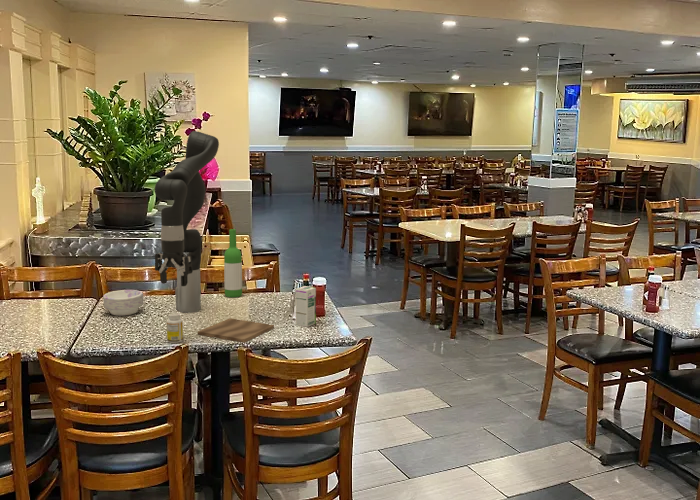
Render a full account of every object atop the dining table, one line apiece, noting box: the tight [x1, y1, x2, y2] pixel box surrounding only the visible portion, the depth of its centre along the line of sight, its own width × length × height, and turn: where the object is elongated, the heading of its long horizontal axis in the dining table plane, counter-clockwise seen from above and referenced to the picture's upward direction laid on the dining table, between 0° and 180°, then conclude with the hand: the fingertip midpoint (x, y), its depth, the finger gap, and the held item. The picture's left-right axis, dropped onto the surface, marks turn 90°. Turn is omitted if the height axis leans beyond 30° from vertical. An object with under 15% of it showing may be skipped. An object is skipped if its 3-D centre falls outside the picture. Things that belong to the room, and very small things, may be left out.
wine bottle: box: [223, 228, 243, 298], centre depth 300 cm, size 8×8×30 cm
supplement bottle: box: [166, 312, 184, 344], centre depth 235 cm, size 5×5×10 cm
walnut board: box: [197, 317, 275, 343], centre depth 249 cm, size 20×20×1 cm
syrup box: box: [294, 285, 317, 328], centre depth 258 cm, size 6×6×14 cm
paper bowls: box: [102, 289, 144, 317], centre depth 271 cm, size 15×15×8 cm
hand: (174, 284), depth 233 cm, fingers open, 8 cm apart
